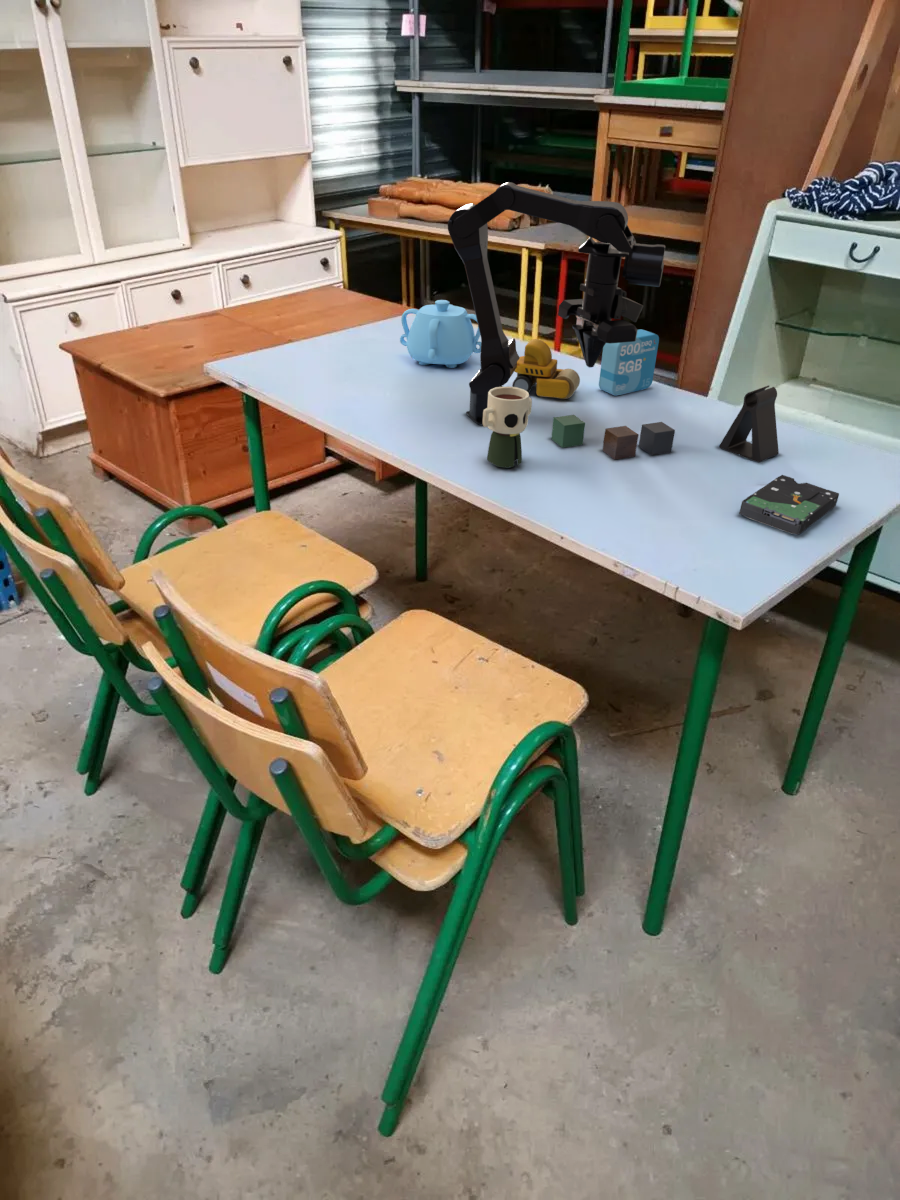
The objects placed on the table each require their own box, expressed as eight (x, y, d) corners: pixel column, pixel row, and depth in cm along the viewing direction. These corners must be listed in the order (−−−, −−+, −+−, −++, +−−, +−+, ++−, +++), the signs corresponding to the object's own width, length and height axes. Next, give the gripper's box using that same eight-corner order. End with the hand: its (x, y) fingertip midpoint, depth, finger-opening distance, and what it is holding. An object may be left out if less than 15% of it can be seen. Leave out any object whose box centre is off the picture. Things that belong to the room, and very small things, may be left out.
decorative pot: (457, 347, 214) (459, 289, 207) (487, 366, 202) (490, 306, 195) (396, 354, 208) (395, 295, 201) (423, 374, 196) (423, 313, 189)
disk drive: (776, 488, 151) (737, 515, 142) (780, 473, 150) (741, 500, 140) (835, 508, 145) (799, 537, 136) (840, 492, 144) (803, 521, 134)
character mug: (494, 477, 151) (498, 405, 144) (468, 463, 156) (471, 393, 149) (540, 462, 157) (546, 393, 150) (513, 449, 162) (518, 381, 155)
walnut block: (614, 459, 159) (617, 437, 157) (602, 450, 163) (605, 428, 160) (635, 456, 161) (638, 434, 158) (622, 447, 164) (625, 425, 162)
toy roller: (571, 403, 183) (577, 353, 177) (505, 394, 187) (508, 345, 181) (580, 390, 190) (585, 342, 184) (516, 381, 194) (519, 334, 188)
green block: (562, 447, 163) (564, 425, 161) (551, 439, 167) (553, 417, 164) (582, 444, 165) (585, 422, 162) (571, 436, 168) (573, 414, 166)
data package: (611, 397, 187) (618, 341, 180) (597, 391, 190) (604, 335, 184) (652, 388, 193) (660, 333, 186) (637, 382, 196) (645, 328, 189)
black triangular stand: (778, 455, 163) (793, 393, 156) (759, 463, 160) (774, 399, 153) (737, 440, 169) (750, 379, 162) (718, 447, 165) (731, 385, 159)
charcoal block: (651, 455, 161) (655, 432, 159) (638, 446, 165) (641, 424, 162) (671, 452, 163) (675, 430, 160) (658, 443, 166) (661, 421, 164)
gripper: (669, 291, 151) (654, 379, 160) (613, 266, 165) (601, 348, 174) (614, 294, 147) (601, 384, 156) (561, 269, 161) (552, 352, 170)
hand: (590, 366), depth 164 cm, fingers closed
